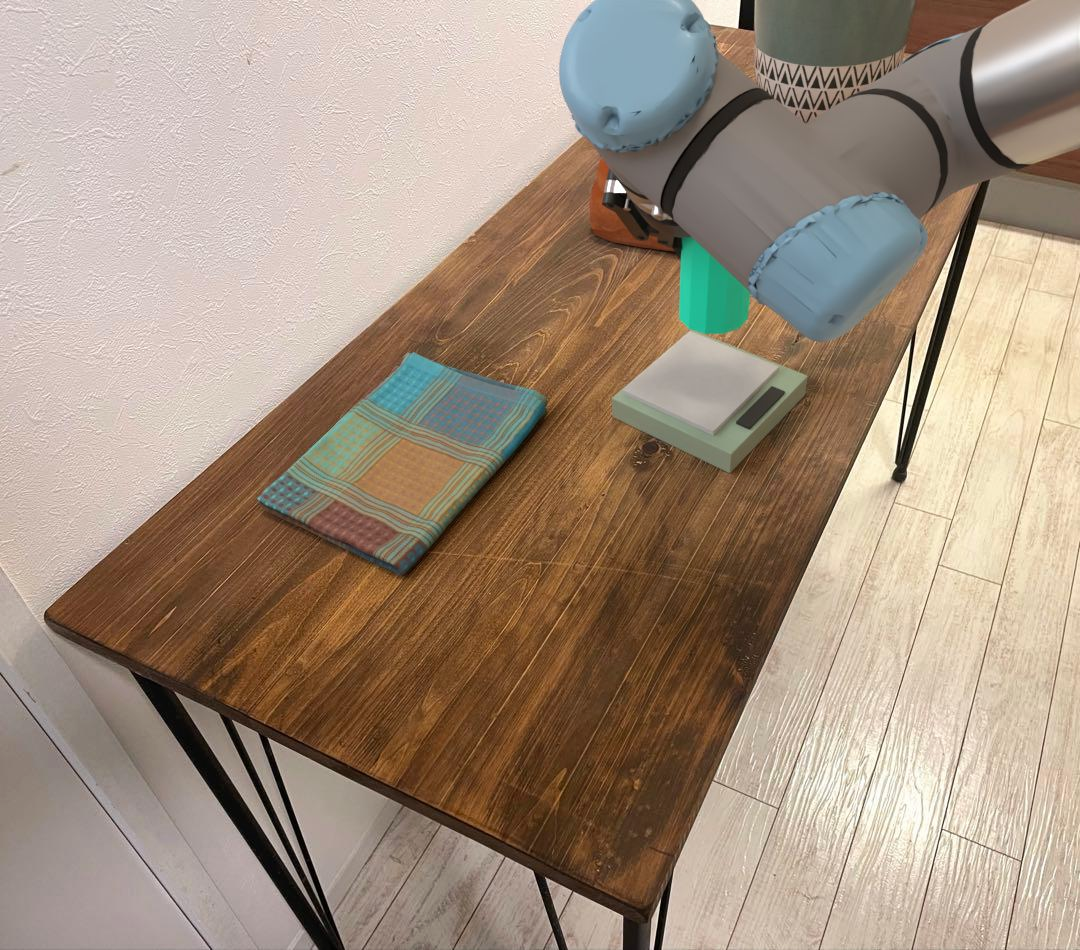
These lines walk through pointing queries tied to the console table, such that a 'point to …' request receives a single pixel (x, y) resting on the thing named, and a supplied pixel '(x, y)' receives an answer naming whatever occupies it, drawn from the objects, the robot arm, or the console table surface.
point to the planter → (826, 48)
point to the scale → (709, 399)
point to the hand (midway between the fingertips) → (724, 255)
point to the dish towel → (405, 461)
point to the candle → (709, 293)
